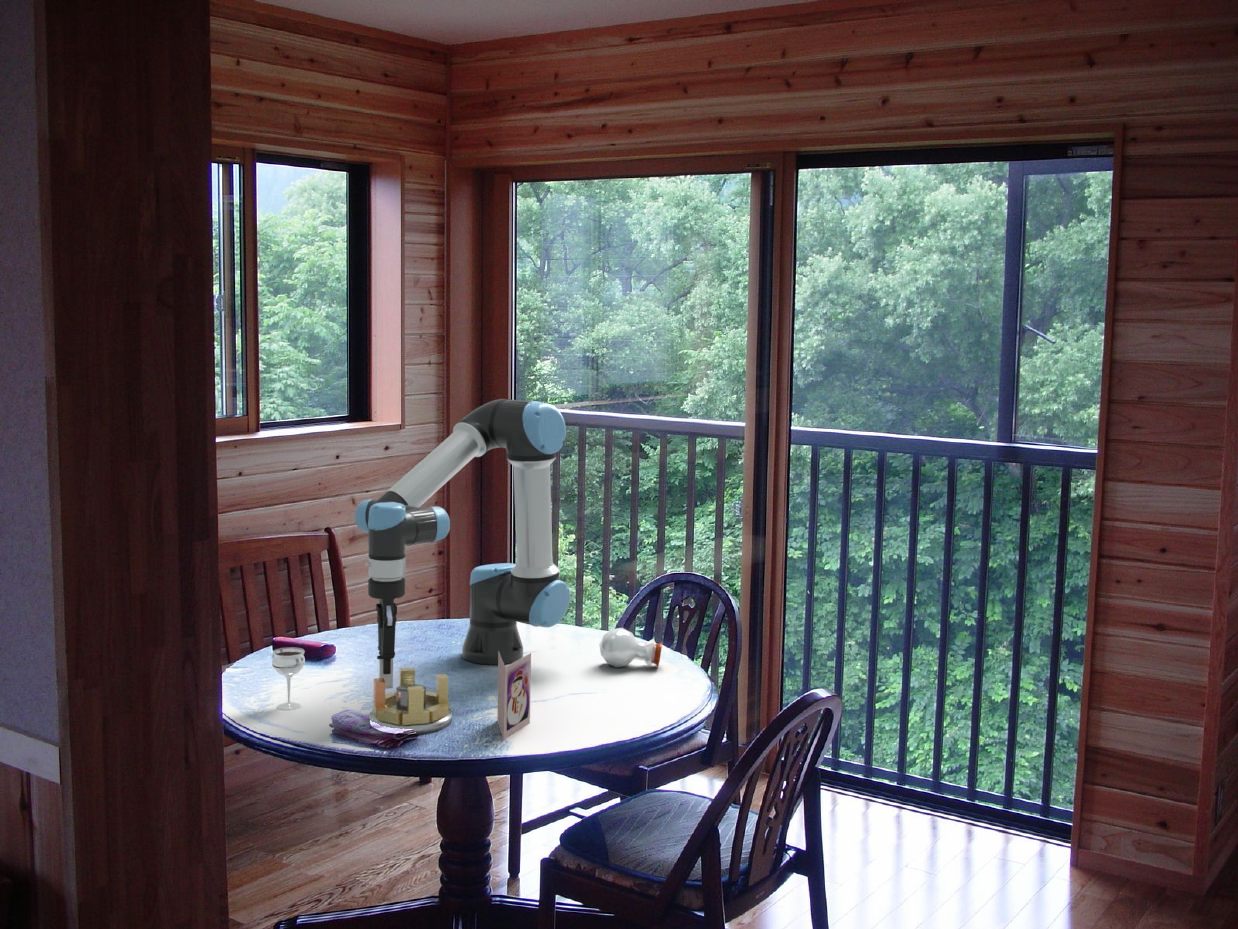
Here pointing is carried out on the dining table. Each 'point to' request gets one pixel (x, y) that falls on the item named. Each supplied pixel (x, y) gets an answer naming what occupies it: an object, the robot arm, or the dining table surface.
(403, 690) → the silver round piece
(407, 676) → the gold crown
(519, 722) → the greeting card
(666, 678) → the dining table surface
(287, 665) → the wineglass
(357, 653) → the dining table surface
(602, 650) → the potion bottle
